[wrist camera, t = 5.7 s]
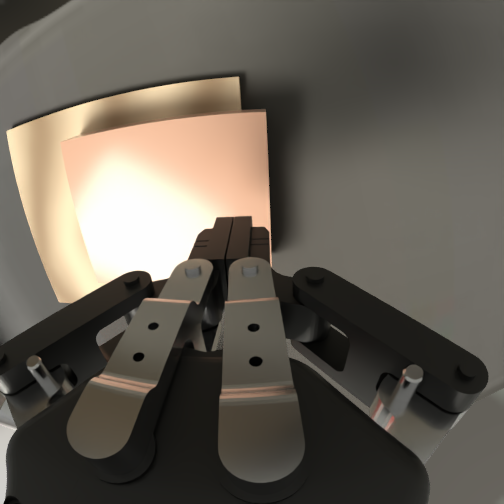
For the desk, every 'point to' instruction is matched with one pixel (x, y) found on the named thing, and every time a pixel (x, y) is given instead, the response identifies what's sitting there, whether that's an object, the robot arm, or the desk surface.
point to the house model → (2, 399)
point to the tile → (165, 186)
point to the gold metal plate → (55, 178)
